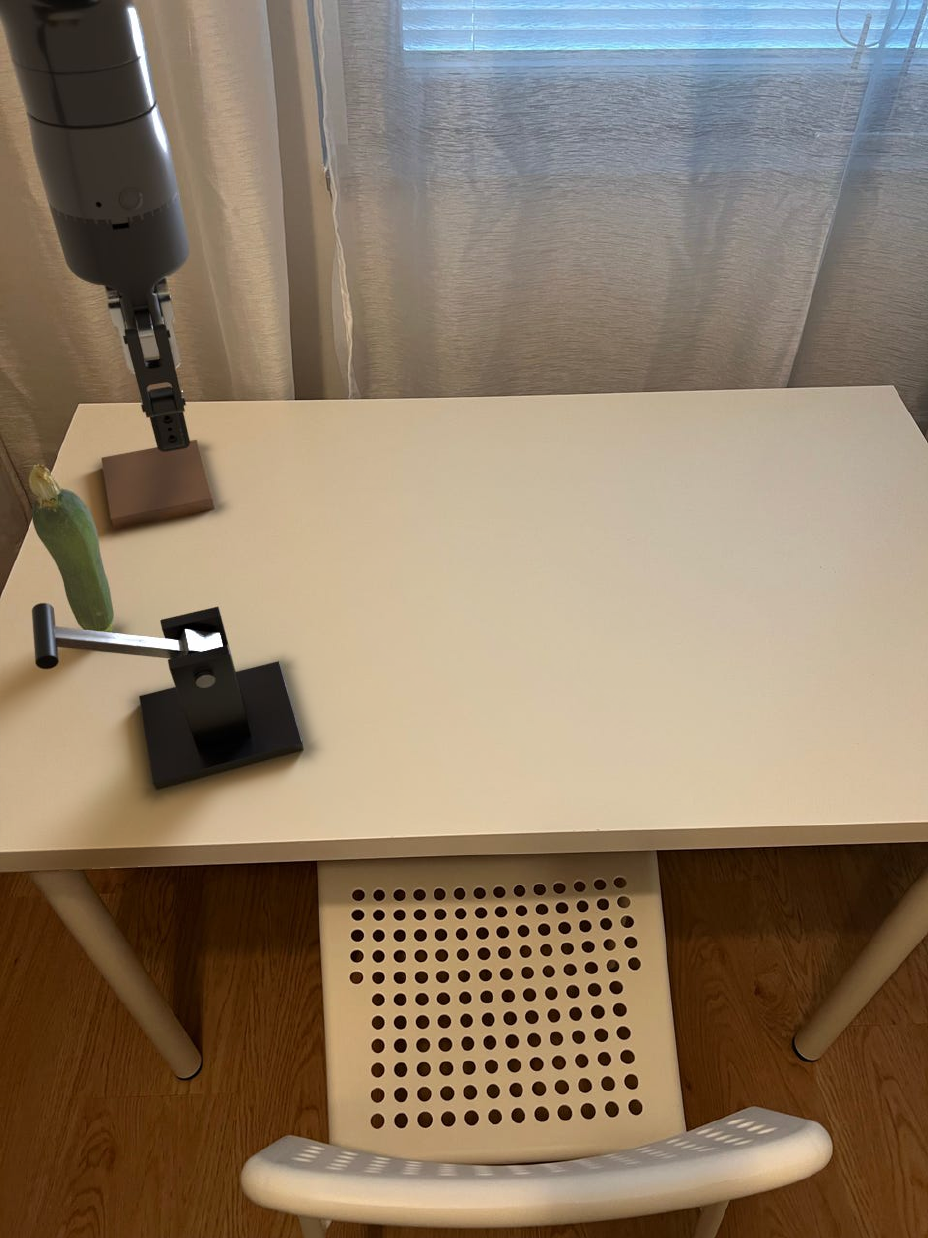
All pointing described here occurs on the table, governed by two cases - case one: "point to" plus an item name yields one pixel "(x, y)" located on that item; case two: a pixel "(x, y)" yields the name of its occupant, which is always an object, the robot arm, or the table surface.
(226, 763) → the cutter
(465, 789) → the table surface
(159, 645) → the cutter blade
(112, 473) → the board
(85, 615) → the vegetable
